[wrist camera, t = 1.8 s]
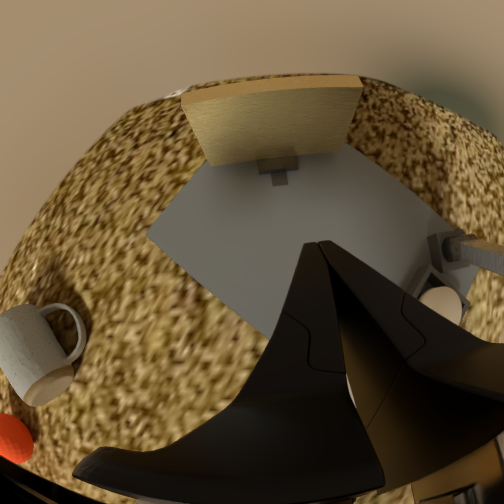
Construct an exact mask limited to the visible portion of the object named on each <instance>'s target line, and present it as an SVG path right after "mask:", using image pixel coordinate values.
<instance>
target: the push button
mask: <svg viewBox="0 0 504 504" xmlns="http://www.w3.org/2000/svg"><path fill="white" fill-rule="evenodd" d="M417 299H418V300H419V301H420V302H422V303H423V304H425V305H426V306H428V307H429V308H431V309H432V310H434V311H436V312H437V313H439V314H440V315H442V316H443V317H445V318H447V319H448V320H450V321H452V322H453V323H455V324H457V325H459V323H460V320H461V315H462V306H461V301H460V298H459V296H458V295H457V293H456V292H455V291H454V290H453V289H451V288H449V287H437V288H430V289H427V290H425V291H423V292H422V293H421V294H420V295H419V296H418V298H417Z"/></svg>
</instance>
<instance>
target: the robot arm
mask: <svg viewBox="0 0 504 504" xmlns="http://www.w3.org/2000/svg"><path fill="white" fill-rule="evenodd" d="M404 292H405V291H404V290H403V289H402V288H401V287H399V286H398V285H396V284H395V283H393V282H392V281H391V280H389V279H388V278H386V277H385V276H383V275H382V274H381V273H379V272H378V271H376V270H375V269H373V268H372V267H370V266H369V265H367V264H366V263H364V262H363V261H361V260H360V259H358V258H357V257H355V256H354V255H352V254H351V253H349V252H348V251H346V250H345V249H343V248H342V247H340V246H339V245H337V244H336V243H334V242H333V241H331V240H324V241H318V242H309V243H304V244H303V246H302V250H301V253H300V256H299V259H298V262H297V265H296V268H295V272H294V275H293V278H292V281H291V284H290V287H289V290H288V293H287V296H286V299H285V302H284V305H283V308H282V310H281V313H280V316H279V319H278V321H277V324H276V327H275V329H274V331H273V334H272V336H271V338H270V340H269V342H268V344H267V346H266V348H265V350H264V352H263V354H262V355H261V357H260V359H259V360H258V362H257V364H256V366H255V367H254V369H253V371H252V372H251V374H250V376H249V377H248V379H247V381H246V382H245V384H244V386H243V387H242V389H241V390H240V392H239V393H238V395H237V396H236V398H235V399H234V400H233V401H232V402H231V403H230V404H229V405H228V406H227V407H226V408H225V409H224V410H222V411H221V412H219V413H218V414H217V415H215V416H214V417H212V418H211V419H209V420H208V421H206V422H205V423H203V424H202V425H200V426H199V427H197V428H196V429H194V430H193V431H191V432H190V433H188V434H187V435H185V436H183V437H182V438H180V439H179V440H177V441H175V442H174V443H172V444H170V445H168V446H166V447H164V448H161V449H157V450H154V451H146V452H139V451H130V450H125V449H120V448H114V447H106V446H105V447H99V448H98V449H96V450H95V451H93V452H92V453H90V454H89V455H88V456H86V457H85V458H84V459H83V460H82V461H80V462H79V464H78V465H77V466H76V467H75V469H74V471H73V473H72V476H73V477H75V478H77V479H79V480H81V481H84V482H86V483H89V484H91V485H94V486H97V487H99V488H102V489H105V490H108V491H111V492H114V493H117V494H120V495H124V496H127V497H131V498H134V499H136V501H135V504H353V503H354V502H355V501H356V497H359V496H362V495H365V494H368V493H370V492H373V491H376V490H377V493H378V495H380V494H383V493H386V492H389V491H392V490H395V489H398V488H401V487H404V486H407V485H409V484H411V487H412V492H413V497H414V503H415V504H504V343H491V342H487V341H484V340H482V339H479V338H478V337H476V336H474V335H473V334H471V333H469V332H468V331H466V330H465V329H463V328H461V327H460V326H458V325H457V324H455V323H453V322H452V321H450V320H448V319H447V318H445V317H443V316H442V315H440V314H439V313H437V312H436V311H434V310H432V309H431V308H429V307H428V306H426V305H425V304H423V303H422V302H420V301H419V300H418V299H416V298H415V297H413V296H412V295H411V294H409V293H408V292H405V293H404ZM346 374H347V376H346ZM347 378H348V381H349V384H350V388H351V391H352V395H353V398H354V402H355V405H356V407H355V405H354V402H353V400H352V398H351V395H350V392H349V388H348V383H347ZM0 504H107V503H104V502H101V501H98V500H95V499H93V498H90V497H87V496H85V495H82V494H80V493H77V492H75V491H72V490H70V489H68V488H65V487H63V486H61V485H58V484H56V483H54V482H52V481H50V480H47V479H45V478H43V477H41V476H39V475H37V474H35V473H33V472H31V471H29V470H27V469H25V468H23V467H21V466H19V465H17V464H15V463H14V462H12V461H10V460H8V459H7V458H5V457H3V456H2V455H0Z"/></svg>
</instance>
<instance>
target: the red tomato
mask: <svg viewBox="0 0 504 504" xmlns="http://www.w3.org/2000/svg"><path fill="white" fill-rule="evenodd" d="M33 448H34V444H33V439H32V436H31V433H30V432H29V430H28V428H27V427H26V426H25V425H24V424H23V423H22V422H21V421H20V420H19V419H18V418H16V417H14V416H12V415H9V414H0V455H2V456H3V457H5V458H7V459H8V460H10V461H12V462H14V463H23V462H25V461H27V460H28V459H29V458H30V457H31V455H32V453H33Z"/></svg>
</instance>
